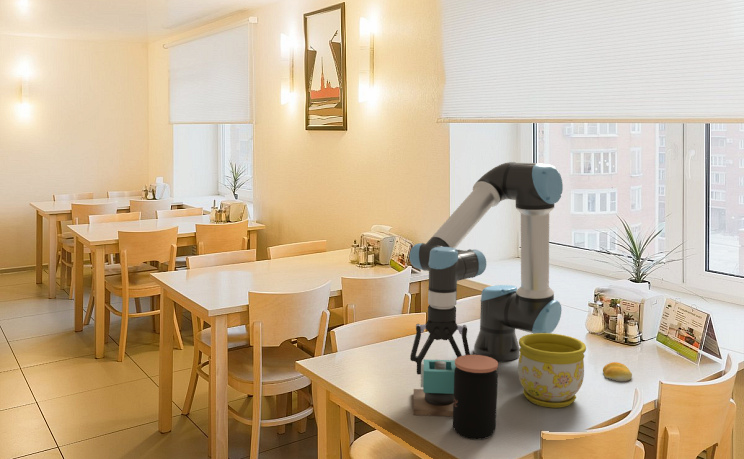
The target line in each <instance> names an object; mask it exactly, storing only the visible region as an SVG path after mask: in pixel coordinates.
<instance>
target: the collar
mask: <svg viewBox="0 0 744 459" xmlns="http://www.w3.org/2000/svg"><path fill="white" fill-rule="evenodd" d="M422 361H424V378H423V387H422V389H423V393H446V394H454V370H455V368H456V366H455V359H452V360H451V359H450V360H449V359H426V358H423V360H422ZM436 361H444V362H446V370H437V369H435V362H436Z"/></svg>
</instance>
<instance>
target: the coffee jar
mask: <svg viewBox="0 0 744 459" xmlns="http://www.w3.org/2000/svg"><path fill="white" fill-rule="evenodd" d="M454 360H455V366H456V368H455V370H454V399H453V416H452V428H453V430H454V431H455V432H456V434H457V435H459V436H460V437H462V438H464V439H469V440H484V439H488V438H490V437H492V435H493V434H494V433H495V431H496V429H497V428H496V427H497V403H498V380H499V376H498V370H497V369H498V367H499V361H496V360H495V359H493V358H490V357H487V356H482V355H475V354H470V355H465V354H464V355H462V356H460V357H457V356H456V358H455V359H454Z"/></svg>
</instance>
